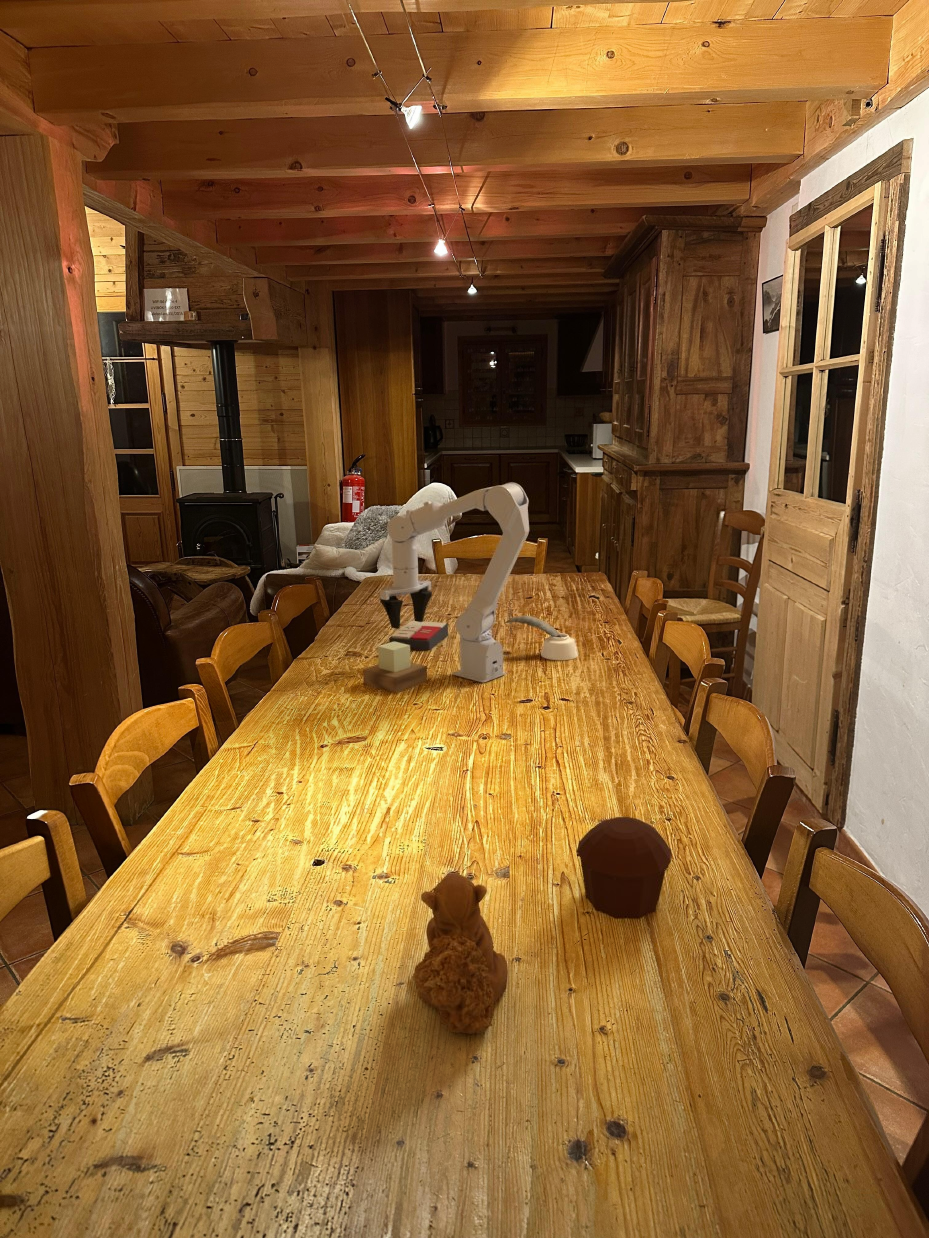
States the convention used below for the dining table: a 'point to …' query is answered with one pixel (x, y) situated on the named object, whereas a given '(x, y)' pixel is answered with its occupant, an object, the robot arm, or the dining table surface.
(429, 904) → the stuffed squirrel
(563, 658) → the inkwell
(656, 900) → the muffin
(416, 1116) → the dining table surface
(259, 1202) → the dining table surface
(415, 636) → the red cream box
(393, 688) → the walnut riser
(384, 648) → the sage cube
